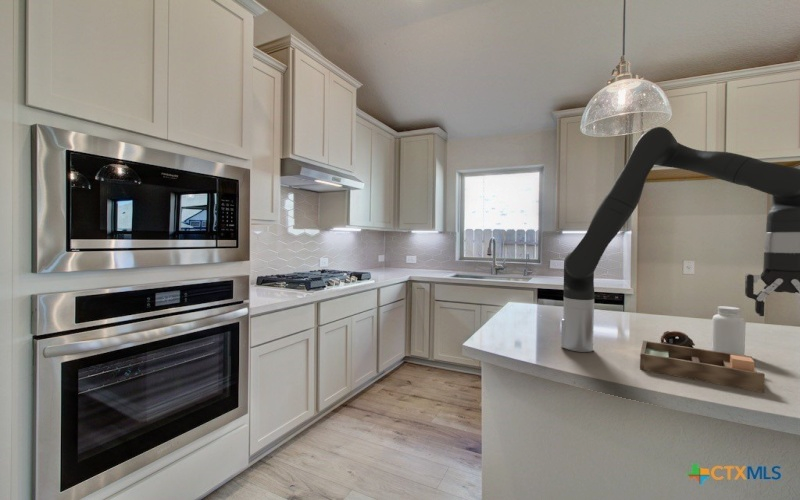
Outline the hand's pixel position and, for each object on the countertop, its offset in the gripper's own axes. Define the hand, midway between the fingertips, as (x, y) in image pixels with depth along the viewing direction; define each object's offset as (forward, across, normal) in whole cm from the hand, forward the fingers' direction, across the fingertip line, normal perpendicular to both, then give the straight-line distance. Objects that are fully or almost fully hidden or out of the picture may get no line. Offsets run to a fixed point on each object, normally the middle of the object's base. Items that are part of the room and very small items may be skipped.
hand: (783, 317), depth 87 cm
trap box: (+18, +16, -3) cm, 24 cm away
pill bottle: (+18, +6, -29) cm, 35 cm away
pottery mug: (+18, +20, -20) cm, 33 cm away
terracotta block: (+15, +7, 0) cm, 17 cm away
